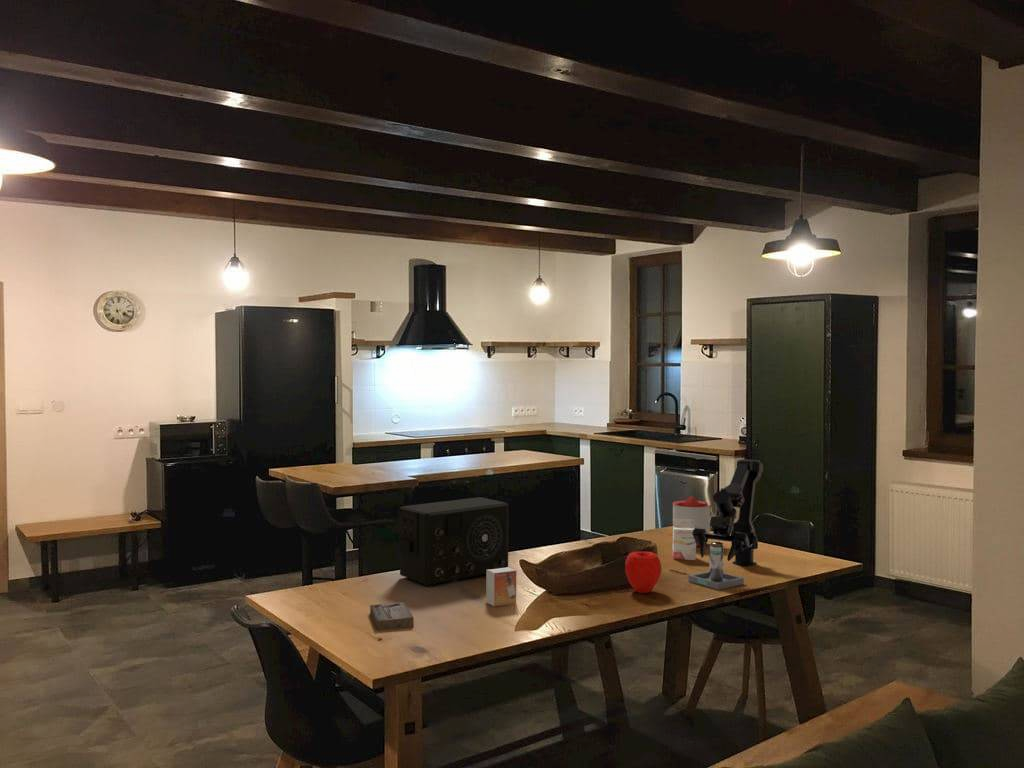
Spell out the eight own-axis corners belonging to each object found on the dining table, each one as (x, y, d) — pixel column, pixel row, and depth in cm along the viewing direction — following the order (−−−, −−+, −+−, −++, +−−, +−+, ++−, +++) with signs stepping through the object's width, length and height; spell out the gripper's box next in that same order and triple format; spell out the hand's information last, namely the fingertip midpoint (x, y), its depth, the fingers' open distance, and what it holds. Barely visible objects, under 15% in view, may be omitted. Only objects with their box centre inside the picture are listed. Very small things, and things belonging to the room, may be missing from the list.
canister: (710, 578, 298) (711, 541, 298) (724, 580, 296) (725, 542, 296) (707, 581, 294) (708, 543, 293) (721, 583, 292) (722, 545, 291)
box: (376, 632, 243) (376, 621, 243) (369, 614, 259) (369, 604, 259) (414, 628, 246) (414, 617, 246) (405, 611, 262) (405, 601, 262)
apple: (653, 585, 291) (653, 546, 291) (667, 595, 280) (667, 553, 279) (619, 588, 288) (620, 548, 288) (633, 597, 277) (633, 555, 277)
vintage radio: (424, 591, 285) (424, 515, 284) (394, 579, 300) (394, 507, 299) (514, 573, 308) (514, 503, 307) (482, 563, 323) (482, 496, 322)
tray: (714, 576, 304) (714, 570, 304) (743, 584, 293) (743, 577, 293) (687, 581, 297) (688, 575, 297) (717, 590, 286) (717, 583, 286)
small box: (493, 607, 266) (493, 573, 265) (485, 602, 271) (485, 569, 270) (516, 603, 269) (516, 570, 269) (508, 599, 274) (508, 566, 274)
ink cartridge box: (673, 559, 330) (673, 521, 329) (672, 556, 334) (672, 518, 334) (696, 560, 329) (696, 521, 328) (694, 557, 334) (695, 519, 333)
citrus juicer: (719, 548, 350) (719, 498, 349) (676, 548, 349) (676, 498, 349) (709, 540, 365) (710, 492, 365) (668, 540, 365) (668, 493, 364)
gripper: (694, 504, 303) (682, 541, 294) (747, 509, 293) (736, 548, 284) (701, 523, 310) (690, 560, 301) (753, 529, 300) (743, 567, 291)
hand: (714, 558), depth 294 cm, fingers open, 9 cm apart
